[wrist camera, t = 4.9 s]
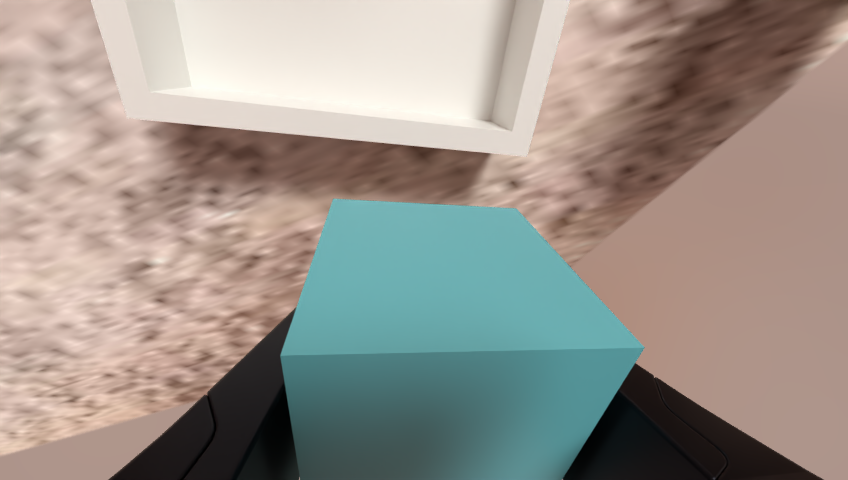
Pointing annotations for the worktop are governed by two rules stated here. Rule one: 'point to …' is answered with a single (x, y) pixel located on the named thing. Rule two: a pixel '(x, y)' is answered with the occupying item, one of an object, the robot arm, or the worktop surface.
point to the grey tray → (339, 67)
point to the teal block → (445, 348)
